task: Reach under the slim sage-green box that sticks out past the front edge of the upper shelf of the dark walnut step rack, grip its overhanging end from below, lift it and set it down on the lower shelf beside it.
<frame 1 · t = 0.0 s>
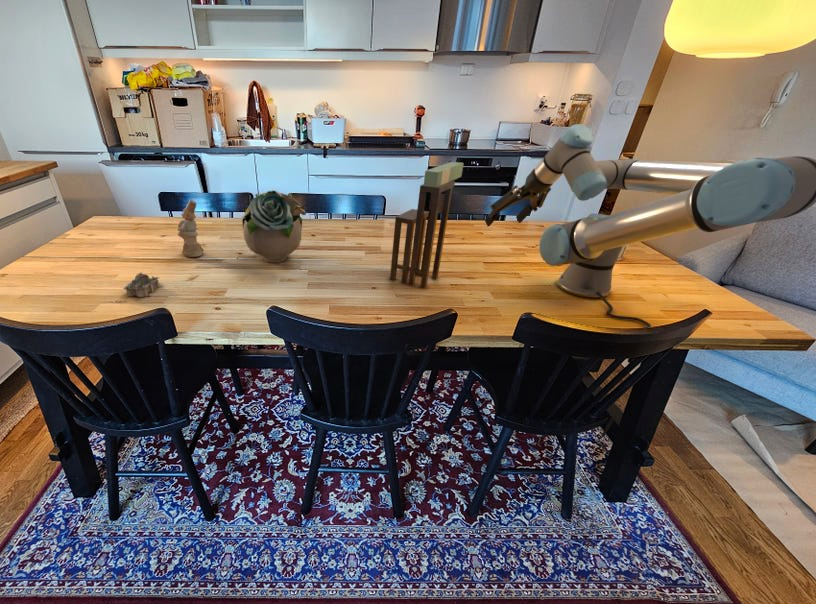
hand: (502, 221, 140), 15 cm above the table, tool tilted 35°, fingers open, 13 cm apart
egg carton: (144, 291, 127), on the table
figurine: (193, 254, 154), on the table
sage box: (443, 181, 120), point 31 cm above the table, touching step rack
step rack: (414, 278, 137), on the table
flower arrangement: (274, 259, 151), on the table
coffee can: (607, 256, 156), on the table
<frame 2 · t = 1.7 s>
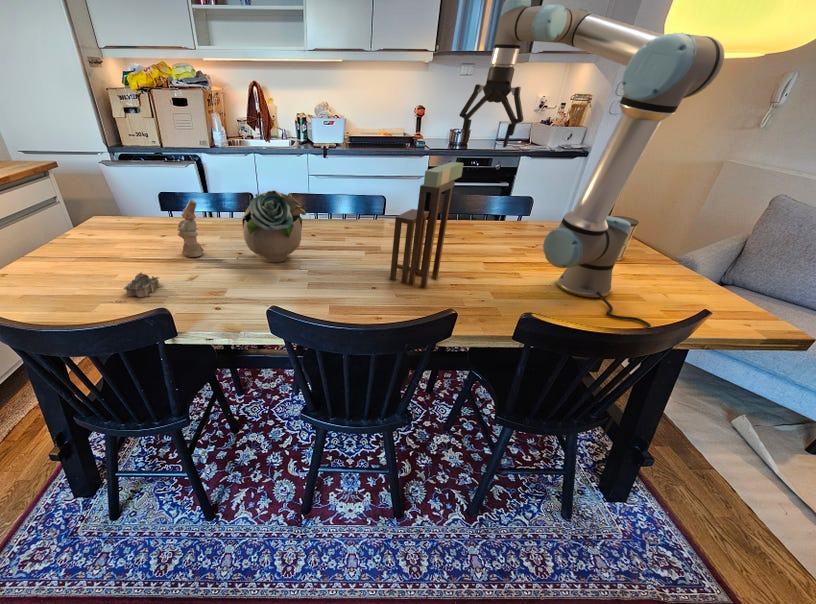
hand: (484, 144, 134), 39 cm above the table, tool pointing down, fingers open, 13 cm apart
nothing on the table moved.
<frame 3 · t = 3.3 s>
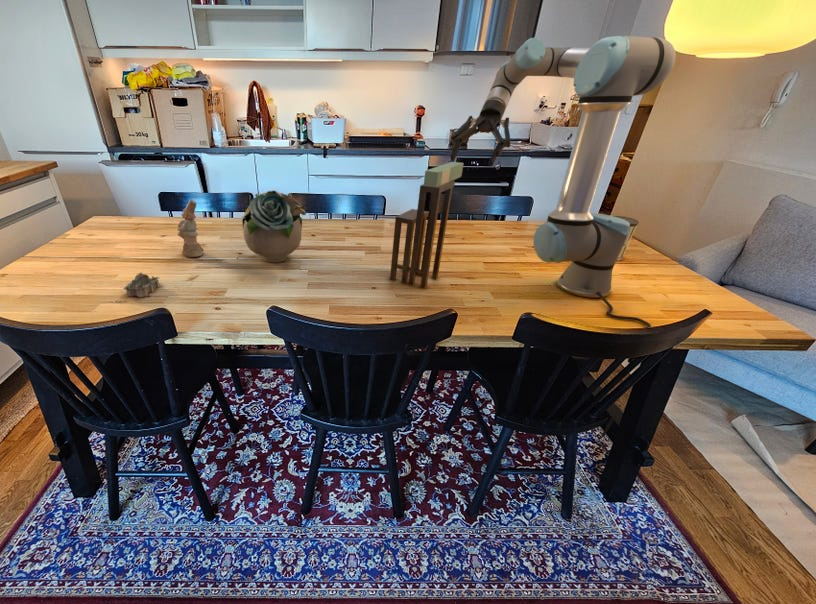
hand: (471, 161, 134), 34 cm above the table, tool tilted 45°, fingers open, 13 cm apart
nothing on the table moved.
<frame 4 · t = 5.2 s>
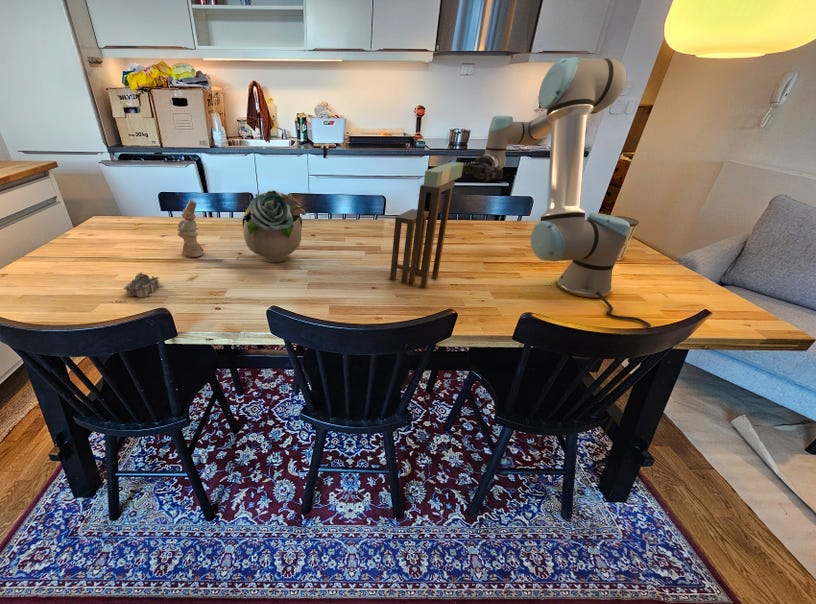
hand: (465, 174, 134), 30 cm above the table, tool horizontal, fingers open, 13 cm apart
nothing on the table moved.
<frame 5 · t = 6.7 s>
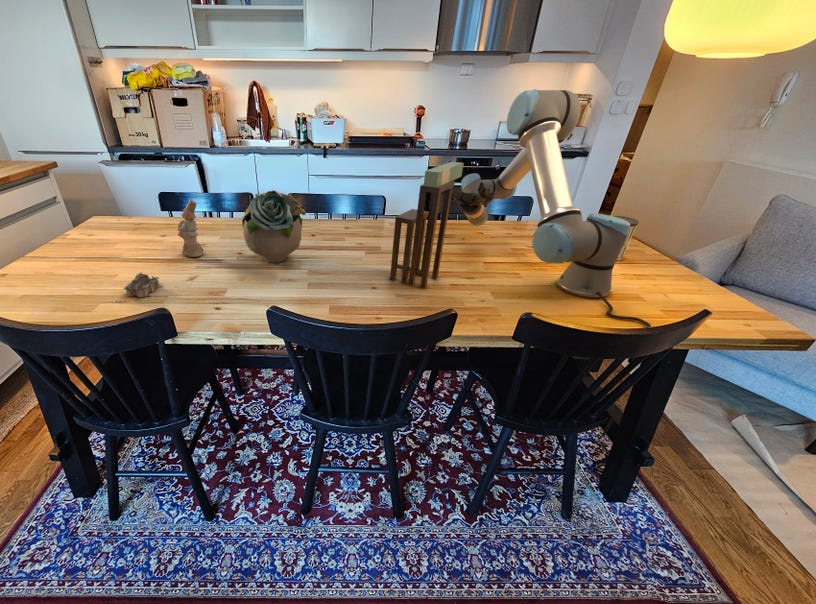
hand: (460, 183, 133), 28 cm above the table, tool pointing upward, fingers open, 13 cm apart
nothing on the table moved.
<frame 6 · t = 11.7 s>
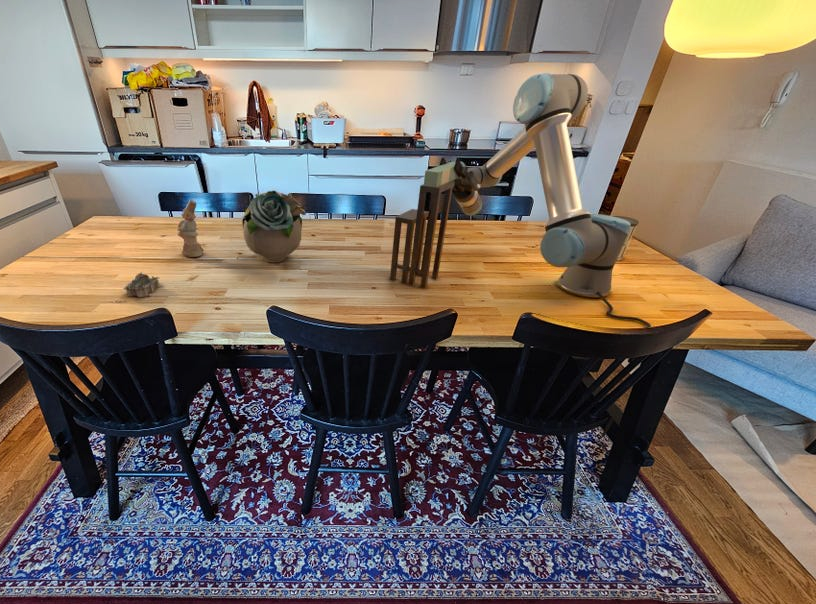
hand: (448, 163, 119), 36 cm above the table, tool pointing upward, fingers closed on sage box, 4 cm apart
sage box: (443, 181, 120), point 31 cm above the table, touching gripper, step rack
everything else where it was.
when the fingers open (26 cm above the table, at t = 18.8 s): sage box stays where it is, resting on step rack.
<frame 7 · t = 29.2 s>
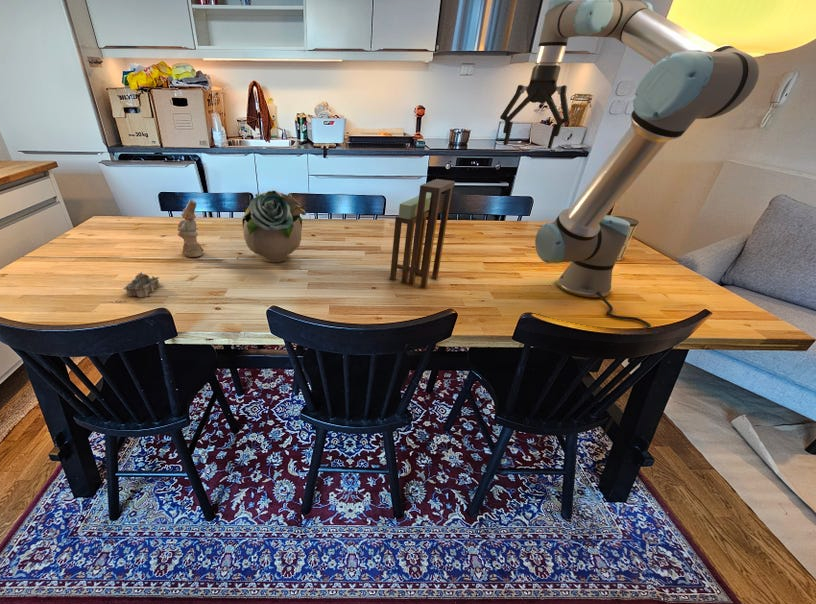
hand: (526, 146, 128), 39 cm above the table, tool pointing down, fingers open, 13 cm apart
sage box: (417, 211, 129), point 21 cm above the table, touching step rack
everything else where it was.
at the end: sage box 0.1 cm from the target spot on the step rack, point 21.0 cm above the step rack's base; sage box tilted 0°; the gripper is holding nothing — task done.
